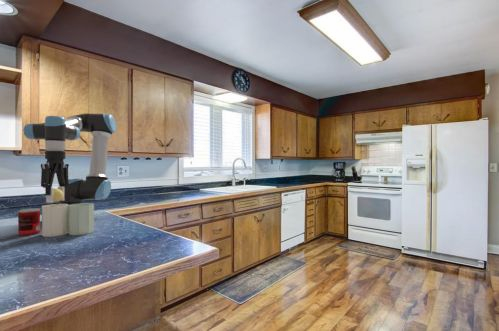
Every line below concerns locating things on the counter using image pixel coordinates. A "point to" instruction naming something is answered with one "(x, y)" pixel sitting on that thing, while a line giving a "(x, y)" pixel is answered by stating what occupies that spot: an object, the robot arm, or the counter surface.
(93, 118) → the robot arm
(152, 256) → the counter surface
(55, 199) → the ball loose
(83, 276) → the counter surface
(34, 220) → the canned food
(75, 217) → the crock sage
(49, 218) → the crock cream
